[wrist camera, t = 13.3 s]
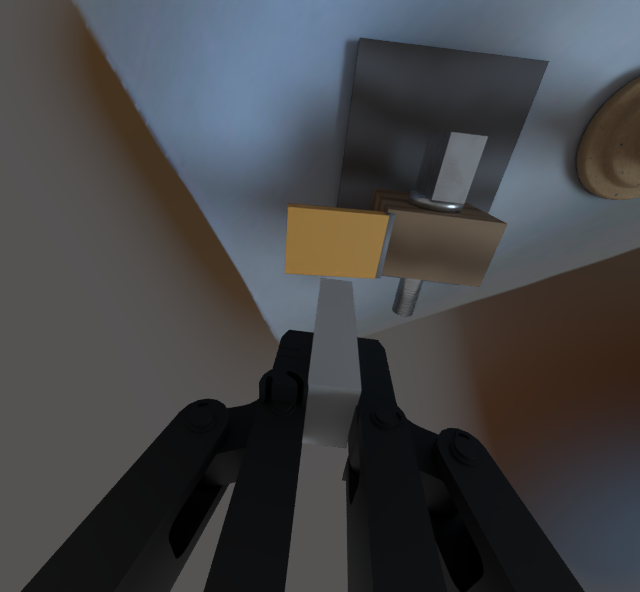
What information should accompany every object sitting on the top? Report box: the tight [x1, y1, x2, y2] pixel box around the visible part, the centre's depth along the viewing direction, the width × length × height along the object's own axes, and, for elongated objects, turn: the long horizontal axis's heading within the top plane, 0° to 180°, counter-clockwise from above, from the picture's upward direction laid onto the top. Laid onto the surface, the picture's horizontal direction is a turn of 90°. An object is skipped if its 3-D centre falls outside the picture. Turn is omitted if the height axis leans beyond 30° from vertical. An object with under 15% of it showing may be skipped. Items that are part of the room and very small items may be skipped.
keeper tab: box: [285, 203, 396, 279], centre depth 24 cm, size 6×9×1 cm, turn 84°
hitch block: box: [337, 38, 549, 287], centre depth 28 cm, size 24×18×12 cm
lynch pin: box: [392, 132, 488, 317], centre depth 28 cm, size 18×5×6 cm, turn 174°
